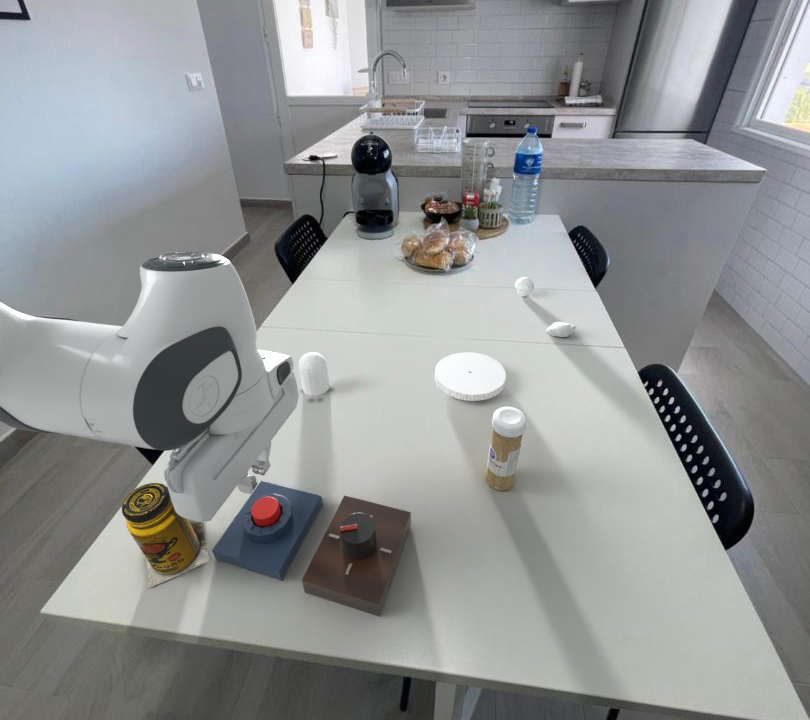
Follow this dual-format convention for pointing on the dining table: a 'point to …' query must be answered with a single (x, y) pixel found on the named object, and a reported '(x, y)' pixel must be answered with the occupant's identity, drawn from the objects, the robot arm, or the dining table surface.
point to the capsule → (314, 374)
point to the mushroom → (524, 286)
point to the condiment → (163, 533)
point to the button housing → (269, 532)
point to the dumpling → (561, 329)
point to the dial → (358, 535)
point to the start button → (265, 511)
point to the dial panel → (358, 578)
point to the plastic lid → (470, 376)
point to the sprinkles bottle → (504, 447)
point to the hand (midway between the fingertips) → (255, 479)
